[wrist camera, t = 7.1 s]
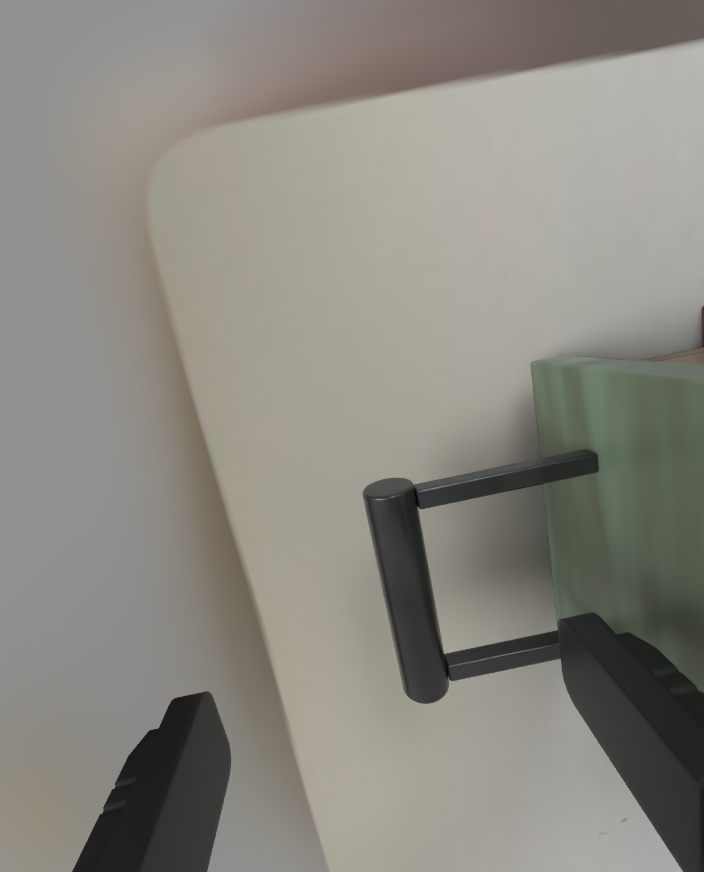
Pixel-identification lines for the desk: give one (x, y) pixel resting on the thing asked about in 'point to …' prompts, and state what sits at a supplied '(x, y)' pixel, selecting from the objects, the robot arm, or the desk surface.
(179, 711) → the robot arm
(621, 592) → the drawer
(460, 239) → the desk surface
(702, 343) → the cabinet
